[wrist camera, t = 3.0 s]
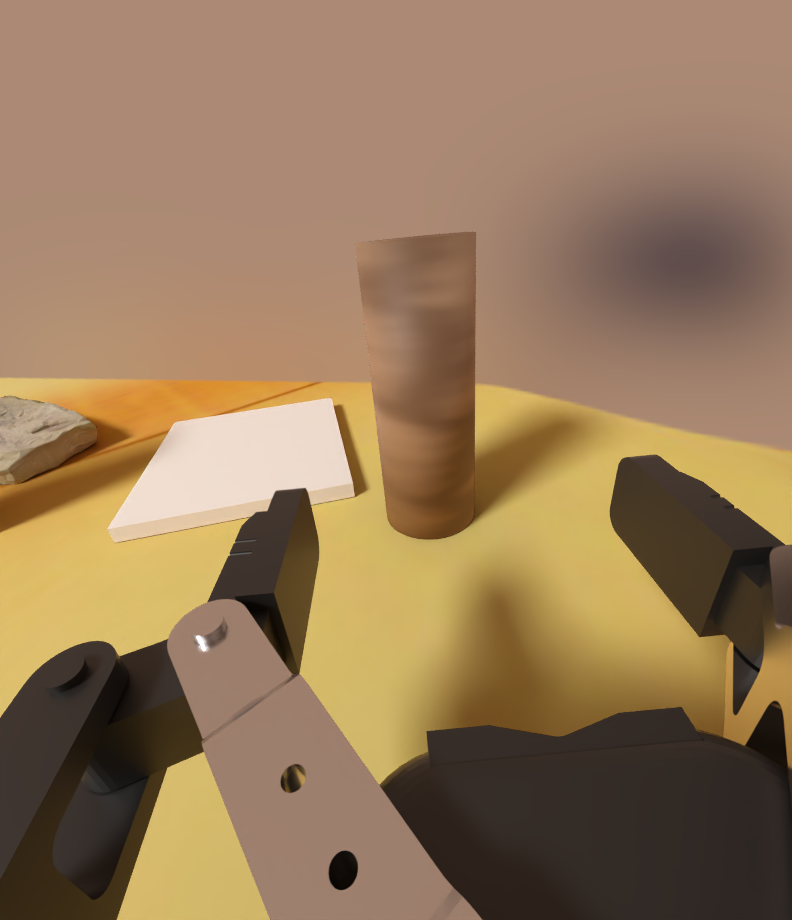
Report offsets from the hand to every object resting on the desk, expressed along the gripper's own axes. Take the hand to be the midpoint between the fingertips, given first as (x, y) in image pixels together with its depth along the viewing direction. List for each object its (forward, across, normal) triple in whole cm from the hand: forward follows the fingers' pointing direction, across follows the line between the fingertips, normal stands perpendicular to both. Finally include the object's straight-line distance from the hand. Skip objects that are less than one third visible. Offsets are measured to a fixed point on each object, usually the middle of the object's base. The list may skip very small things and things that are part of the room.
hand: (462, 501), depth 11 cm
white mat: (+20, +13, +8) cm, 25 cm away
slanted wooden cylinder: (+11, 0, +8) cm, 13 cm away
